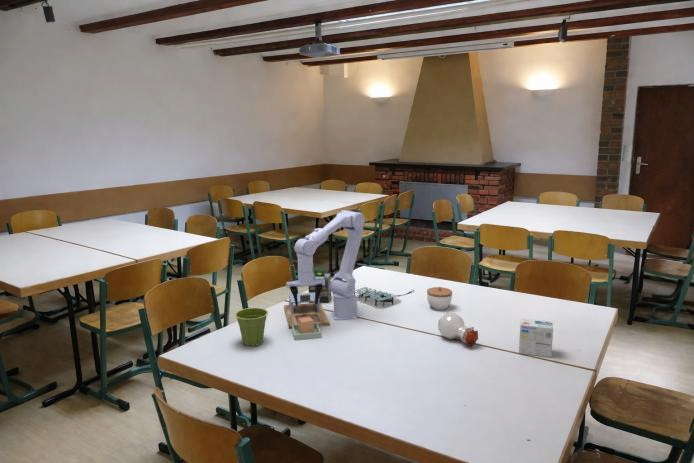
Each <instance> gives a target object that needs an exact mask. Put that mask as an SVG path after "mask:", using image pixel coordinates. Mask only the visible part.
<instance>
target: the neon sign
mask: <svg viewBox="0 0 694 463" xmlns="http://www.w3.org/2000/svg"><path fill="white" fill-rule="evenodd" d="M414 291H415V289H412V290H411V291H409V292H407V293H405V294H399V295H398V294H397V295H395V294H393V293H389V292H387V291H382V290H377V289H372V287H367V286H363V287H361V288H358V289H355V292H354V294H353V295H355V296H356V299H357V302H359V303H361V304H363V305H367V306H369V307H373V308H375V309H378V310H379V309H381V310H382V309H389V308H391V307H393V306H396V305H398V304H401V303H402V300H400V299H399V298H396V297H401V296H406V295H408V294H411V293H412V292H414ZM356 294H357V295H356Z"/></svg>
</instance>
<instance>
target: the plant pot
mask: <svg viewBox="0 0 694 463" xmlns="http://www.w3.org/2000/svg"><path fill="white" fill-rule="evenodd" d="M268 314H269V311H268V310H267V309H265V308H261V307H248V308H243V309H242V308H241V309H240V310H238V311H236V312H235V313H234V316H235V318H236V319H237V323H238V325H239V330H240V334H241V340H242V344H243V345H245V346H252V347H254V346H258V345H260V344H262V343H263V342H264V336H265V335H264V334H265V326H266V321H267V316H268Z"/></svg>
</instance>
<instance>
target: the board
mask: <svg viewBox="0 0 694 463" xmlns="http://www.w3.org/2000/svg"><path fill="white" fill-rule="evenodd" d="M283 310H284V315H285V319H286V322H287V327H288V330H292V325H295V324H298V318H302V317H308V316H310V317H311V318H312V319H313V322H314V323H318V326H319V327H327V326H328V327H329V326H330V320H329V318H328V316H327V314H326V311H325V308H324V307H323V304H322V303H319V311H320V312H317V310H316V307H315V305H314V303H309V302H307V303H298V306H296V305H295V303H293V311H294V314H291V310H290V306H289V304H284V305H283Z"/></svg>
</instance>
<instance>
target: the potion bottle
mask: <svg viewBox="0 0 694 463" xmlns="http://www.w3.org/2000/svg"><path fill="white" fill-rule="evenodd" d="M437 328H438V331H439V333H440V335H441V336H443V337H444V338H445V339H450V340H456V339H457V338H460V341H461V342H462V343H463V344H465V345H466V346H467V345H468V346H469V347H471V348H472V347H473V346H474V345H475V343H476V342H477V341H478V340H479V333H478V332H479V331H478V330H475V328H474V326H470V327H468V326H465V322H464V319H463V318H462V317H461V316H460V315H458V313H456V312H455V313H454V312H447V313H445V314H443V315H442V316H441V317H440V318H439V319H438V323H437Z"/></svg>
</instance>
